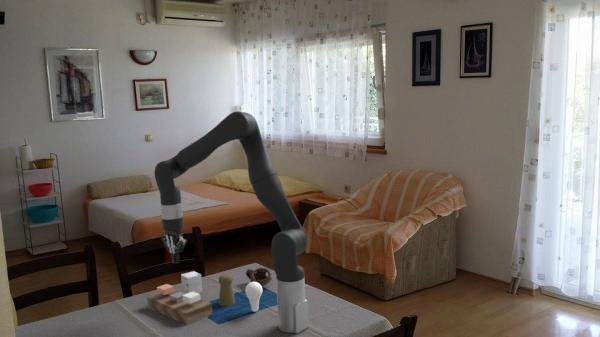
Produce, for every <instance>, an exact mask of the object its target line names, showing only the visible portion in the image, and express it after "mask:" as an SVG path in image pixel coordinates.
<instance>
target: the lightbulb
mask: <svg viewBox="0 0 600 337" xmlns="http://www.w3.org/2000/svg"><path fill="white" fill-rule="evenodd" d="M244 292H245V295H246V297H247V299H248V300H249V305H250V310H251V311H252V312H254V313H257V312H258V311H259V306H260V305H259V304H260V298H261V296H262V295H263V286H261V285H260V284H259V283H258V282H251V281H250V282H248V284H247V285H246V287H245V291H244Z"/></svg>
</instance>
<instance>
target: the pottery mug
mask: <svg viewBox="0 0 600 337" xmlns="http://www.w3.org/2000/svg"><path fill="white" fill-rule="evenodd" d="M266 274H267V275H266ZM245 275H246V277H247V278H248V279H249V280H250V283H251V282H258V283H259V284H260V285H261V286H262V287H264V286H266V285H268V284H269V283H270V282H271V281H273V278H272V273H271V272H270V270H269V269H268V268H265V267H257V268H255V269H250V268H249V269H247V270H246V272H245Z"/></svg>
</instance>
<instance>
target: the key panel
mask: <svg viewBox="0 0 600 337" xmlns="http://www.w3.org/2000/svg"><path fill="white" fill-rule="evenodd" d="M177 292H182V290H178V289H175V288H174V292H171V293H169V294H166V295H162V294H160V293H157V292H156V293H155V294H153V295H149V296H147V297H146V299H147V308H148V309H150V310H153V311H155V312H157V313H160V314H161V315H164V316H166V317H168V318H171V319H174V320H175V321H178V322H180V323H181V324H185V325H190V324H192V323H195V322H197V321H199V320H202V319H204V318H206V317H208V316H211V315H213V303H212V302H210V301H206V300H204V299H202V298H201V300H199V301H196V302H194V303H191V304H190V303H188V302H185V301H182V302H180V303H175V302H173V301H170V295H172V294H174V293H177ZM182 293H184V292H182ZM185 294H186V293H185Z"/></svg>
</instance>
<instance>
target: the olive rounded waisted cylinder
mask: <svg viewBox="0 0 600 337" xmlns="http://www.w3.org/2000/svg"><path fill="white" fill-rule="evenodd" d="M233 277H234V276H232V275H231V274H229V273H223V274H221V275H219V277H218V283H219V287H220V288H219V300H218V305H219V306H221V307H225V306H226V307H231V305H232V306H234V305H235V304H236V300H235V293H234V289H233V280H234V279H233ZM233 304H234V305H233Z"/></svg>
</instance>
